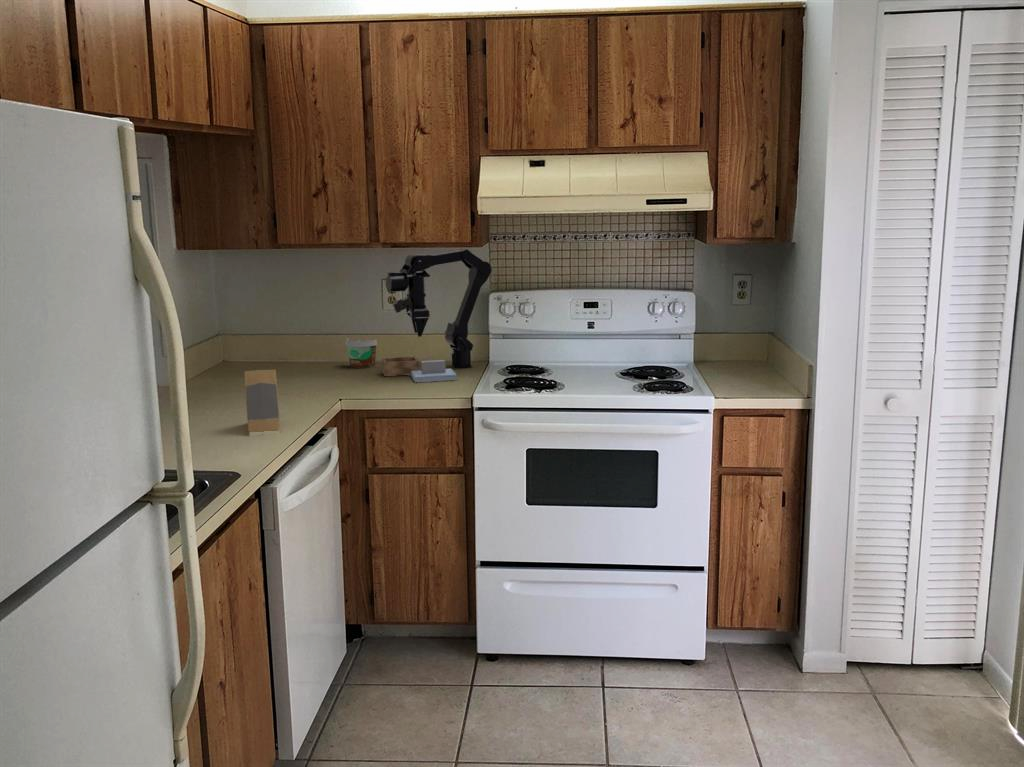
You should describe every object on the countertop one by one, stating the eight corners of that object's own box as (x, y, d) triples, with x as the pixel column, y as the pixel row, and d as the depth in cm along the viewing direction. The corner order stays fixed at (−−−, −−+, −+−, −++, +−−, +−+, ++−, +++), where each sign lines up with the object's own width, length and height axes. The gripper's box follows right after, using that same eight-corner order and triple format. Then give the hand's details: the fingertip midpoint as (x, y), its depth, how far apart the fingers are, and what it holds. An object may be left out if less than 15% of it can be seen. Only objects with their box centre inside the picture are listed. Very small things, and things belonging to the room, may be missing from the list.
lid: (451, 374, 322) (450, 357, 321) (456, 380, 312) (456, 362, 311) (411, 376, 319) (410, 359, 318) (415, 382, 309) (414, 365, 308)
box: (416, 370, 330) (415, 356, 329) (419, 374, 322) (418, 360, 321) (382, 372, 328) (381, 358, 327) (384, 377, 319) (384, 362, 318)
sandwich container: (247, 437, 244) (243, 381, 241) (247, 423, 259) (243, 370, 256) (281, 434, 247) (277, 379, 243) (279, 421, 261) (275, 368, 258)
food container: (340, 367, 337) (339, 340, 335) (348, 364, 343) (346, 338, 341) (371, 369, 334) (370, 341, 331) (378, 366, 339) (377, 339, 337)
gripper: (390, 288, 330) (392, 331, 334) (396, 294, 313) (398, 339, 316) (421, 287, 333) (423, 330, 336) (429, 292, 315) (430, 338, 318)
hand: (418, 334), depth 327 cm, fingers open, 9 cm apart
